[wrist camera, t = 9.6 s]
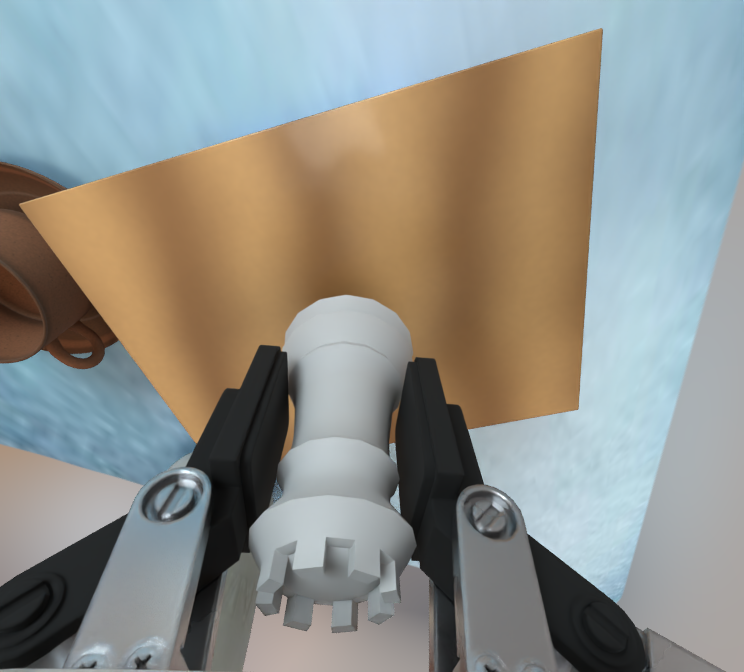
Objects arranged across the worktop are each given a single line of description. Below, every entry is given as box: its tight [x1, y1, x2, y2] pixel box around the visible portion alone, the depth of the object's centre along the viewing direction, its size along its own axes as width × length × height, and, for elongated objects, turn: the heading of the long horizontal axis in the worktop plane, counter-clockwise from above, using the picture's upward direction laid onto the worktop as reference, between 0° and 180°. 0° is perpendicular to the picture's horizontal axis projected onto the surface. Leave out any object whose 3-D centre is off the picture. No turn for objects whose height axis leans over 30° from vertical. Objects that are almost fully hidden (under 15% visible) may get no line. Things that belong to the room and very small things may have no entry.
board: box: [19, 28, 603, 461], centre depth 15 cm, size 18×14×1 cm
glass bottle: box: [168, 452, 273, 672], centre depth 22 cm, size 10×10×28 cm
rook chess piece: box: [249, 295, 417, 633], centre depth 10 cm, size 4×4×8 cm
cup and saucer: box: [0, 162, 119, 369], centre depth 21 cm, size 12×12×6 cm
